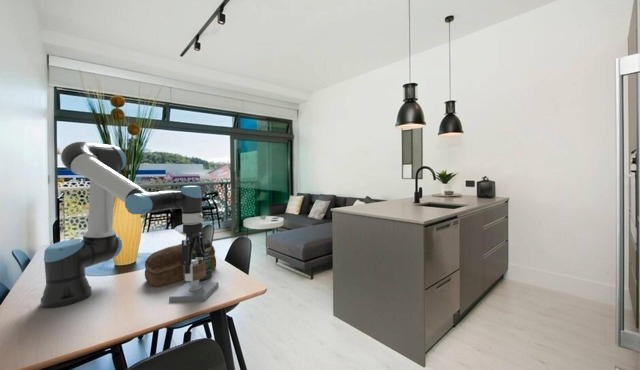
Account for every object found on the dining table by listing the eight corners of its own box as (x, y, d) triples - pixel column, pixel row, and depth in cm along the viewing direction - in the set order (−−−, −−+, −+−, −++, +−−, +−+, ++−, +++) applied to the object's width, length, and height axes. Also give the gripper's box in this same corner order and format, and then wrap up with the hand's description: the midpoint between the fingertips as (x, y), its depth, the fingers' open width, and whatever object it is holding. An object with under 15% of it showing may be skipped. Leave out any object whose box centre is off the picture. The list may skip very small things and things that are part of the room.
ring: (179, 281, 108) (178, 266, 107) (190, 273, 116) (189, 259, 116) (200, 280, 108) (199, 266, 107) (209, 273, 116) (208, 259, 116)
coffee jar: (195, 283, 122) (193, 243, 121) (187, 279, 127) (185, 241, 126) (215, 277, 129) (213, 239, 129) (206, 273, 134) (205, 237, 134)
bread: (141, 281, 126) (140, 248, 125) (205, 263, 151) (204, 235, 150) (154, 289, 117) (152, 254, 116) (220, 268, 142) (219, 239, 141)
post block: (169, 301, 105) (167, 266, 105) (187, 286, 119) (186, 255, 119) (204, 301, 105) (202, 266, 104) (218, 286, 119) (217, 255, 118)
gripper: (188, 227, 100) (190, 287, 101) (212, 218, 121) (214, 267, 122) (168, 228, 100) (171, 287, 101) (196, 218, 122) (197, 267, 122)
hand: (194, 276), depth 112 cm, fingers closed on ring, 8 cm apart
